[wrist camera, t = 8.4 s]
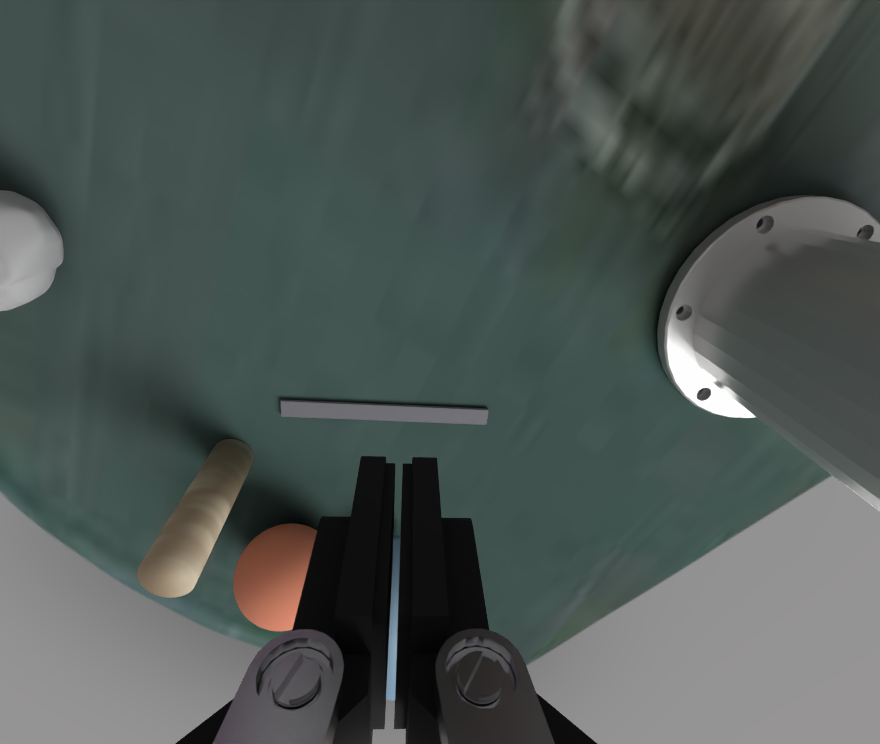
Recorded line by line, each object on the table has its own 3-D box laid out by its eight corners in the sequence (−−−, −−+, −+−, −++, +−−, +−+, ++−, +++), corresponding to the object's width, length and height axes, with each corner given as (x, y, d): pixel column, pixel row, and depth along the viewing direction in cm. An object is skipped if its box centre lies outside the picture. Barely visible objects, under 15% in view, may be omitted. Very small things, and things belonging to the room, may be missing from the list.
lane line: (487, 408, 29) (488, 410, 28) (485, 423, 29) (486, 424, 29) (281, 399, 27) (280, 401, 27) (282, 414, 28) (281, 416, 28)
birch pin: (252, 439, 28) (192, 557, 20) (255, 472, 29) (199, 597, 21) (210, 438, 28) (132, 556, 20) (214, 471, 29) (142, 597, 21)
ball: (372, 568, 30) (317, 625, 25) (314, 610, 33) (250, 672, 27) (318, 491, 31) (252, 529, 26) (264, 537, 33) (193, 582, 28)
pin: (404, 539, 30) (422, 693, 29) (398, 534, 33) (414, 676, 31) (366, 546, 30) (383, 704, 28) (362, 540, 32) (378, 686, 31)
